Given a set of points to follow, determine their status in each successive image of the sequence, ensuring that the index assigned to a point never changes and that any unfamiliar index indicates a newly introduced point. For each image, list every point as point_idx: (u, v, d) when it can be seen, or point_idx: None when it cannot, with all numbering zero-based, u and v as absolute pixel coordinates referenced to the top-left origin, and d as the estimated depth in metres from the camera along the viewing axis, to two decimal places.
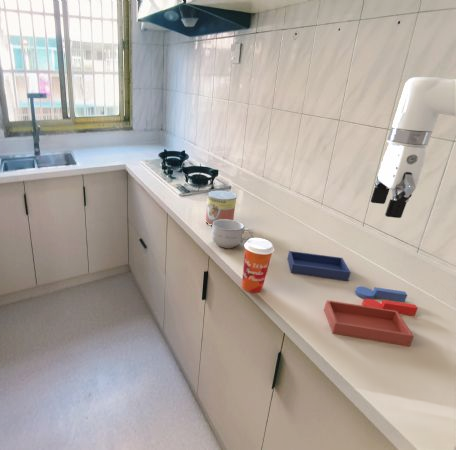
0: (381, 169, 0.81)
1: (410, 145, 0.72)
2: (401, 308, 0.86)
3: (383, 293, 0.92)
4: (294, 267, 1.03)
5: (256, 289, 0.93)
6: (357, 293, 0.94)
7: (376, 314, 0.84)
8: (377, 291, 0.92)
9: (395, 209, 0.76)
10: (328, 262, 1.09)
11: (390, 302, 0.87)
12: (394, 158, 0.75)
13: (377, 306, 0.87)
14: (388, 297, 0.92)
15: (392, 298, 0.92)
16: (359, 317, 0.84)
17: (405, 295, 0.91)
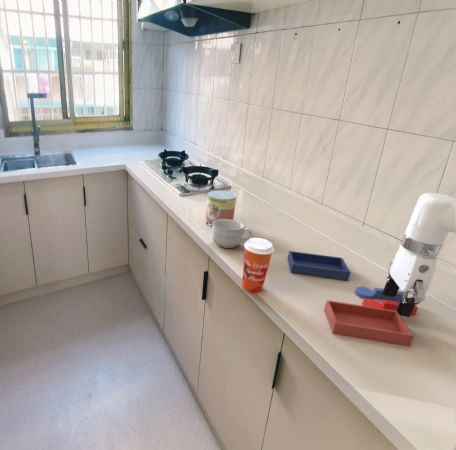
0: (393, 266, 0.86)
1: (422, 256, 0.78)
2: None
3: None
4: (294, 267, 1.03)
5: (256, 289, 0.93)
6: (357, 293, 0.94)
7: (376, 314, 0.84)
8: (377, 291, 0.92)
9: (404, 310, 0.82)
10: (328, 262, 1.09)
11: (390, 302, 0.87)
12: (406, 263, 0.80)
13: (377, 306, 0.87)
14: (388, 297, 0.92)
15: (392, 298, 0.92)
16: (359, 317, 0.84)
17: None
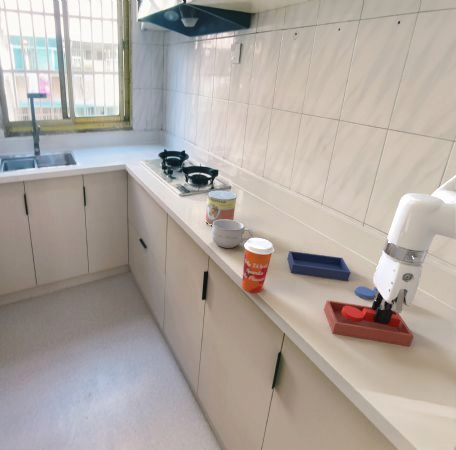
0: (376, 274, 0.79)
1: (406, 263, 0.70)
2: None
3: None
4: (294, 267, 1.03)
5: (256, 289, 0.93)
6: (357, 293, 0.94)
7: None
8: None
9: (382, 317, 0.77)
10: (328, 262, 1.09)
11: (372, 311, 0.80)
12: (389, 271, 0.73)
13: (357, 314, 0.80)
14: None
15: None
16: None
17: None
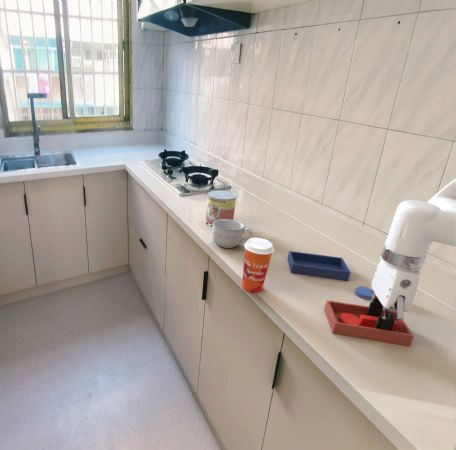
0: (375, 280, 0.80)
1: (403, 269, 0.71)
2: None
3: None
4: (294, 267, 1.03)
5: (256, 289, 0.93)
6: (357, 293, 0.94)
7: None
8: None
9: (384, 326, 0.77)
10: (328, 262, 1.09)
11: (368, 317, 0.80)
12: (387, 278, 0.74)
13: (354, 321, 0.81)
14: None
15: None
16: (359, 317, 0.84)
17: None
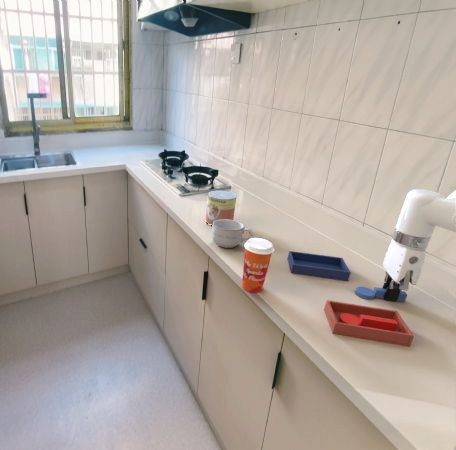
0: (386, 259, 0.92)
1: (412, 248, 0.83)
2: (380, 324, 0.80)
3: (383, 293, 0.92)
4: (294, 267, 1.03)
5: (256, 289, 0.93)
6: (357, 293, 0.94)
7: (376, 314, 0.84)
8: (377, 291, 0.92)
9: (391, 295, 0.91)
10: (328, 262, 1.09)
11: (368, 317, 0.80)
12: (398, 256, 0.86)
13: (354, 321, 0.81)
14: None
15: None
16: (359, 317, 0.84)
17: (405, 294, 0.91)
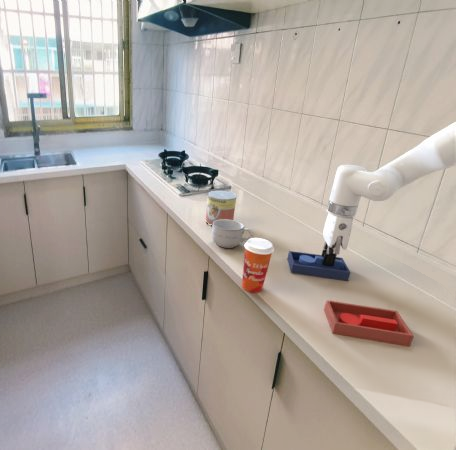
0: (324, 228, 1.03)
1: (341, 216, 0.95)
2: (380, 324, 0.80)
3: (322, 260, 1.04)
4: (294, 267, 1.03)
5: (256, 289, 0.93)
6: (300, 260, 1.05)
7: (376, 314, 0.84)
8: (317, 258, 1.04)
9: (328, 260, 1.02)
10: None
11: (368, 317, 0.80)
12: (331, 224, 0.97)
13: (354, 321, 0.81)
14: None
15: None
16: (359, 317, 0.84)
17: (340, 262, 1.03)
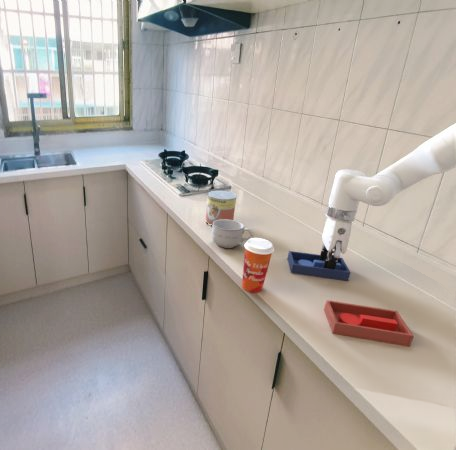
0: (323, 233, 1.04)
1: (340, 220, 0.95)
2: (380, 324, 0.80)
3: (320, 264, 1.04)
4: (294, 267, 1.03)
5: (256, 289, 0.93)
6: None
7: (376, 314, 0.84)
8: (315, 263, 1.05)
9: (328, 266, 1.01)
10: None
11: (368, 317, 0.80)
12: (330, 228, 0.98)
13: (354, 321, 0.81)
14: None
15: None
16: (359, 317, 0.84)
17: (339, 265, 1.03)
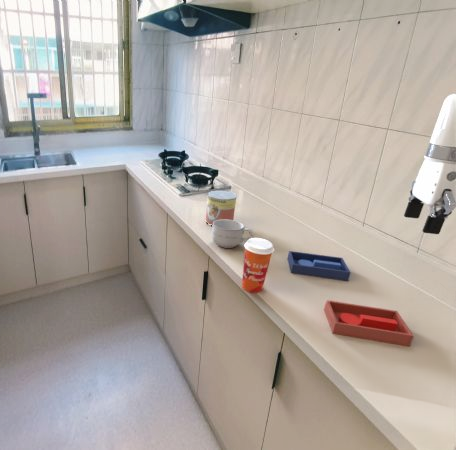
0: (417, 184, 0.81)
1: (450, 162, 0.72)
2: (380, 324, 0.80)
3: (320, 264, 1.04)
4: (294, 267, 1.03)
5: (256, 289, 0.93)
6: None
7: (376, 314, 0.84)
8: (315, 263, 1.05)
9: (433, 226, 0.75)
10: None
11: (368, 317, 0.80)
12: (432, 174, 0.75)
13: (354, 321, 0.81)
14: None
15: None
16: (359, 317, 0.84)
17: (339, 265, 1.03)
